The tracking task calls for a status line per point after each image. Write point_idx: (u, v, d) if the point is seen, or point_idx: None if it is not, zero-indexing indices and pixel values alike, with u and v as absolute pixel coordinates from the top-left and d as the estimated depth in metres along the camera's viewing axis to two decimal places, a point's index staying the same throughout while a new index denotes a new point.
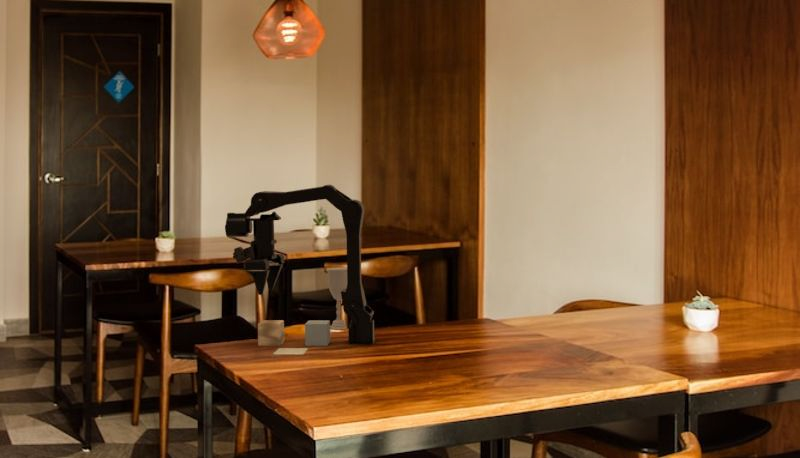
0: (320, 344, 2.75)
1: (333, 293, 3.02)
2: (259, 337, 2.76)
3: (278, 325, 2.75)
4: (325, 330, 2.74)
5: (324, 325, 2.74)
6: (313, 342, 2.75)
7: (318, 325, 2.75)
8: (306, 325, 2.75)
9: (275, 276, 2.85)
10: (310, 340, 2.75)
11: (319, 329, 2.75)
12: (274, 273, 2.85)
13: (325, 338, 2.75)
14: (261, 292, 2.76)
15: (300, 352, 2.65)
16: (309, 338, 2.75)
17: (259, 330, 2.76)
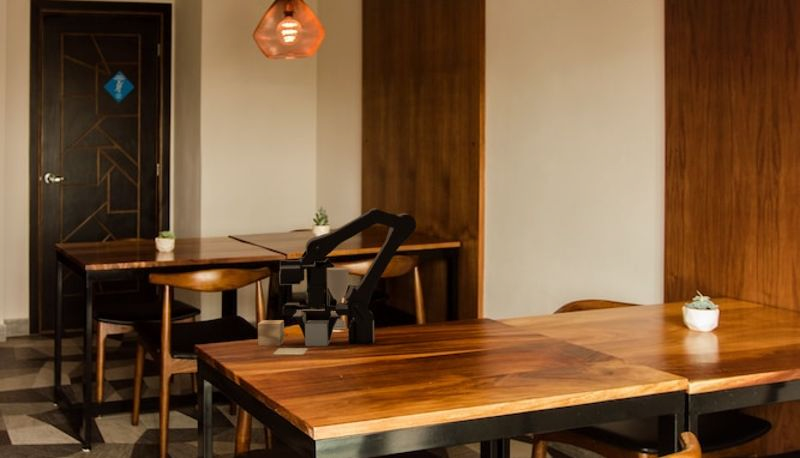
0: (320, 344, 2.75)
1: (333, 293, 3.02)
2: (259, 337, 2.76)
3: (278, 325, 2.75)
4: (325, 330, 2.74)
5: (324, 325, 2.74)
6: (313, 342, 2.75)
7: (318, 325, 2.75)
8: (306, 325, 2.75)
9: None
10: (310, 340, 2.75)
11: (319, 329, 2.75)
12: None
13: (325, 338, 2.75)
14: None
15: (300, 352, 2.65)
16: (309, 338, 2.75)
17: (259, 330, 2.76)
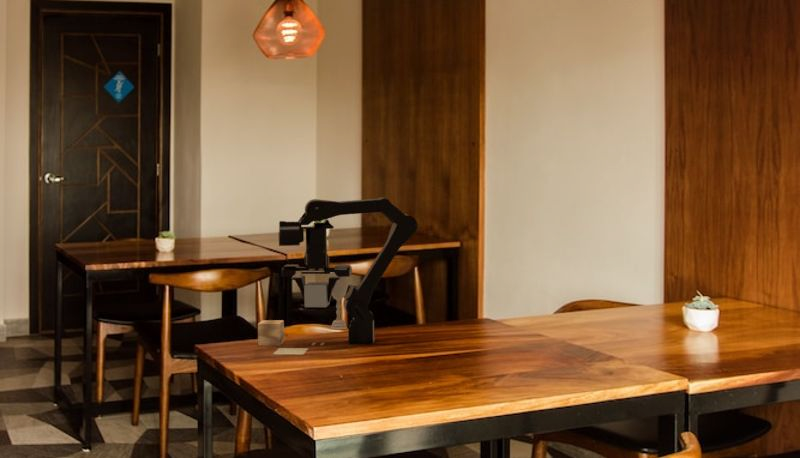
0: (319, 305, 2.74)
1: (333, 293, 3.02)
2: (259, 337, 2.76)
3: (278, 325, 2.75)
4: (324, 291, 2.74)
5: (323, 286, 2.74)
6: (313, 303, 2.74)
7: (317, 286, 2.74)
8: (305, 286, 2.74)
9: (328, 288, 2.75)
10: (309, 301, 2.74)
11: (319, 290, 2.74)
12: None
13: (324, 299, 2.74)
14: None
15: (300, 352, 2.65)
16: (308, 299, 2.74)
17: (259, 330, 2.76)
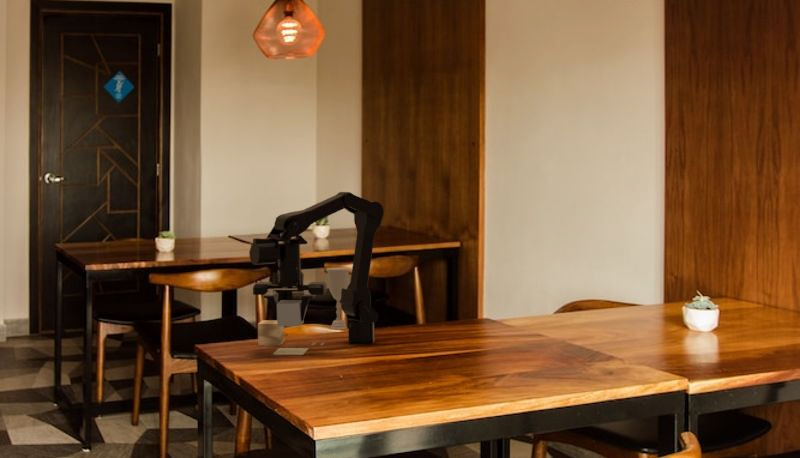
0: (292, 324, 2.64)
1: (333, 293, 3.02)
2: (259, 337, 2.76)
3: None
4: (298, 310, 2.64)
5: (297, 305, 2.63)
6: (285, 322, 2.64)
7: (290, 305, 2.64)
8: (278, 305, 2.64)
9: None
10: (282, 320, 2.64)
11: (292, 308, 2.64)
12: None
13: (298, 318, 2.64)
14: None
15: (300, 352, 2.65)
16: (281, 318, 2.64)
17: (259, 330, 2.76)
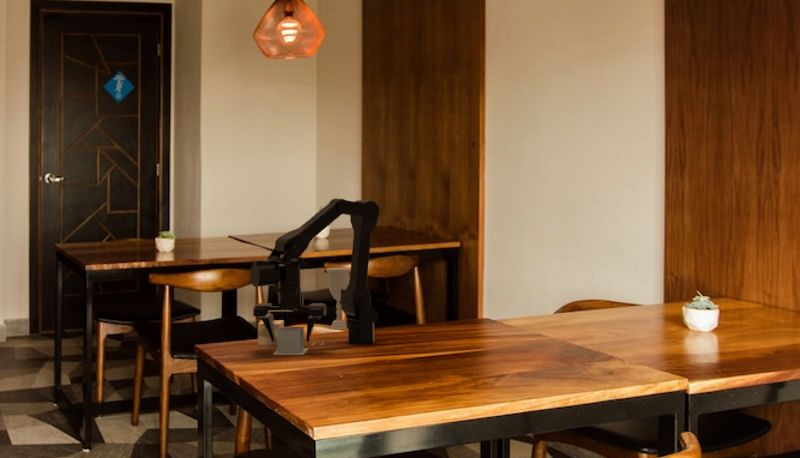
0: (293, 351, 2.64)
1: (333, 293, 3.02)
2: (259, 337, 2.76)
3: (278, 325, 2.75)
4: (298, 337, 2.64)
5: (297, 332, 2.64)
6: (286, 349, 2.65)
7: (291, 332, 2.64)
8: (278, 332, 2.64)
9: (307, 328, 2.65)
10: (282, 347, 2.65)
11: (292, 335, 2.64)
12: None
13: (298, 345, 2.64)
14: None
15: None
16: (281, 345, 2.65)
17: (259, 330, 2.76)
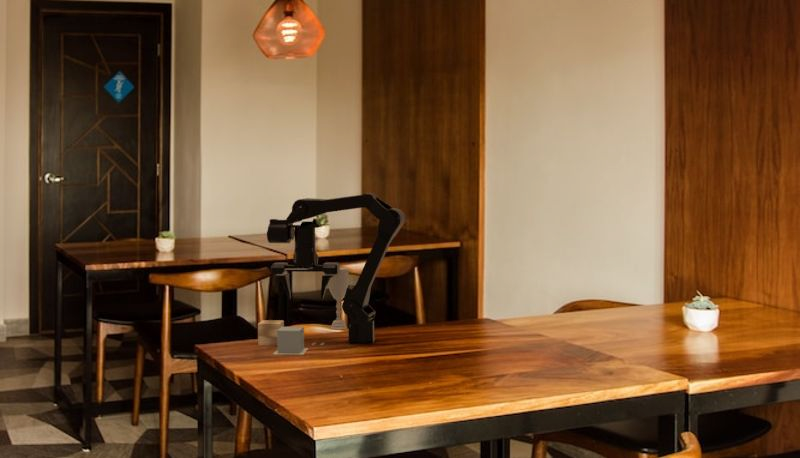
0: (293, 351, 2.64)
1: (333, 293, 3.02)
2: (259, 337, 2.76)
3: (278, 325, 2.75)
4: (298, 337, 2.64)
5: (297, 332, 2.64)
6: (286, 349, 2.65)
7: (291, 332, 2.64)
8: (278, 332, 2.64)
9: None
10: (282, 347, 2.65)
11: (292, 335, 2.64)
12: None
13: (298, 345, 2.64)
14: None
15: None
16: (281, 345, 2.65)
17: (259, 330, 2.76)
